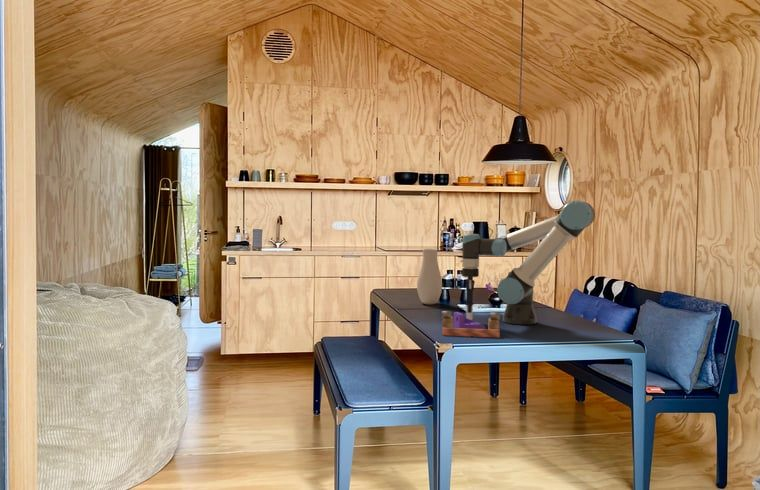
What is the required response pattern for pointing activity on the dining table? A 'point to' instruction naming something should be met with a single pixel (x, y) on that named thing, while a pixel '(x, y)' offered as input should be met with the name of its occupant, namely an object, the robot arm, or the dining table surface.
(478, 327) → the bracket
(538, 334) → the dining table surface
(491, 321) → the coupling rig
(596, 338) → the dining table surface
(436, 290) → the vase
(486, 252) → the robot arm
